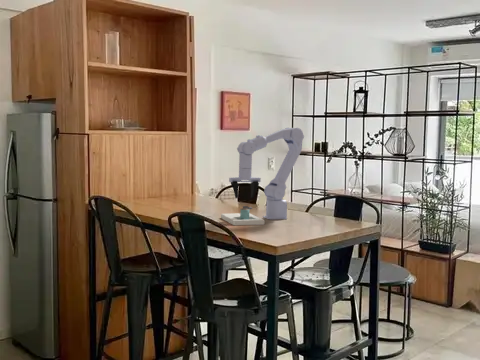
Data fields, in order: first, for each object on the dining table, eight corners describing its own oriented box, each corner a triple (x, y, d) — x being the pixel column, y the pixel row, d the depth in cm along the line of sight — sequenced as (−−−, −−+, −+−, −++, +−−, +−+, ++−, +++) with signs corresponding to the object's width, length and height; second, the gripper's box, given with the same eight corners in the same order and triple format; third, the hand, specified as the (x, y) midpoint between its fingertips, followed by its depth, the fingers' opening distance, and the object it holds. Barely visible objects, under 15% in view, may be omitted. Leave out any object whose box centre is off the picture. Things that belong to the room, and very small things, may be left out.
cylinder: (247, 221, 243) (247, 208, 243) (250, 223, 239) (250, 209, 239) (239, 221, 242) (239, 208, 241) (241, 223, 238) (242, 209, 238)
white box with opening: (249, 217, 256) (249, 203, 255) (264, 224, 237) (264, 209, 236) (220, 217, 252) (221, 204, 251) (233, 225, 233) (234, 210, 232)
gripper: (257, 167, 254) (256, 196, 255) (227, 167, 249) (226, 196, 250) (262, 168, 247) (261, 198, 248) (232, 168, 243) (231, 198, 244)
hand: (244, 197), depth 249 cm, fingers open, 7 cm apart
